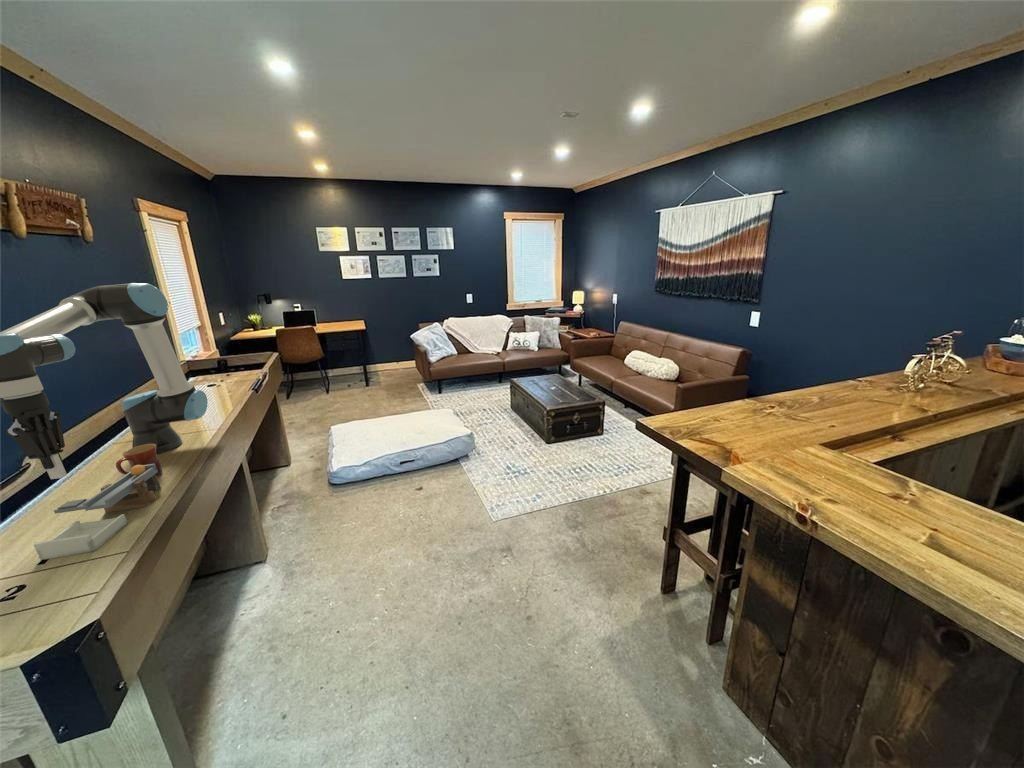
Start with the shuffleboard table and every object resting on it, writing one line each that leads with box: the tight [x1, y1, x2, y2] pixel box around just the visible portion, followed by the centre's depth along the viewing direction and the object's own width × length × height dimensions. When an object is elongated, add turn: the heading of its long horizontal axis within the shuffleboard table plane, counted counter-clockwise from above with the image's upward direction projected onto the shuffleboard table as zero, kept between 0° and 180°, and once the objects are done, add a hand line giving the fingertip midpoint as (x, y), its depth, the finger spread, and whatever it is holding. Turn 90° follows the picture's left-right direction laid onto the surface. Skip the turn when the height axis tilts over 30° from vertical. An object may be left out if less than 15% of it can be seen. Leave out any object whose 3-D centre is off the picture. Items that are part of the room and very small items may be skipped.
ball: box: [130, 465, 146, 476], centre depth 124 cm, size 3×3×3 cm
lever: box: [53, 464, 158, 515], centre depth 117 cm, size 20×14×3 cm
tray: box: [33, 513, 129, 561], centre depth 104 cm, size 12×12×4 cm
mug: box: [115, 444, 163, 477], centre depth 135 cm, size 12×9×10 cm
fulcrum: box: [100, 474, 162, 513], centre depth 123 cm, size 12×11×8 cm
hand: (59, 477), depth 108 cm, fingers closed
